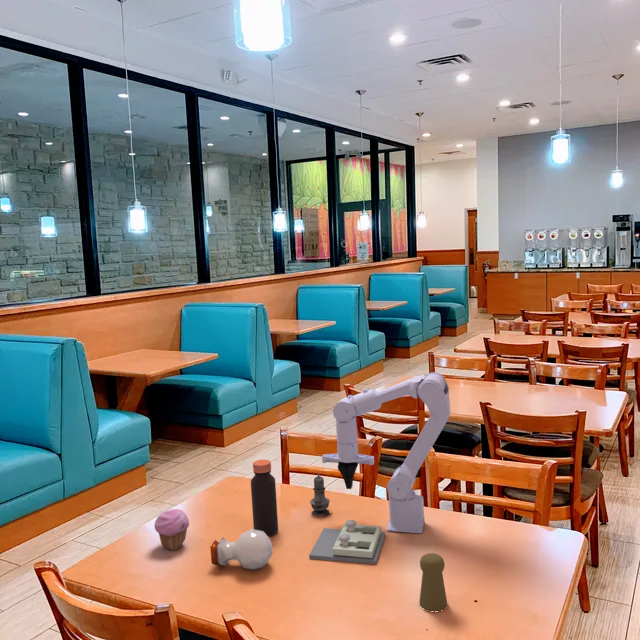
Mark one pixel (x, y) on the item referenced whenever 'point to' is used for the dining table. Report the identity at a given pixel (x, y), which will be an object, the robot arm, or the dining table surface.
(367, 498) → the dining table surface
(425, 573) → the olive pawn
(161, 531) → the cupcake
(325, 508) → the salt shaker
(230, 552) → the potion bottle
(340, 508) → the dining table surface
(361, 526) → the panel
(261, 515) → the vinegar
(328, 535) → the boss board
